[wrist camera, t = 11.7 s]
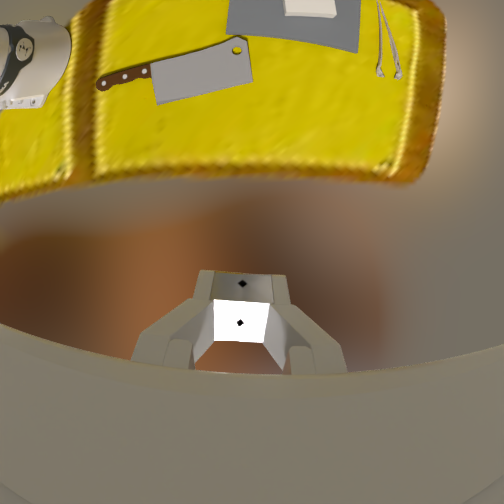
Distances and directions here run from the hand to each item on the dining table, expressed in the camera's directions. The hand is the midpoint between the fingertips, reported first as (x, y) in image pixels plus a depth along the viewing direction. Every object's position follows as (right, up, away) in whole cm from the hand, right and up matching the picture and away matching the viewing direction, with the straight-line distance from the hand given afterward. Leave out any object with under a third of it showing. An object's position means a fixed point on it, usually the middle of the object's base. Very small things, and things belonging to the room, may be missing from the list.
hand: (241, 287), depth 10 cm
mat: (+7, +39, +15) cm, 42 cm away
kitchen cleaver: (-12, +27, +23) cm, 37 cm away
